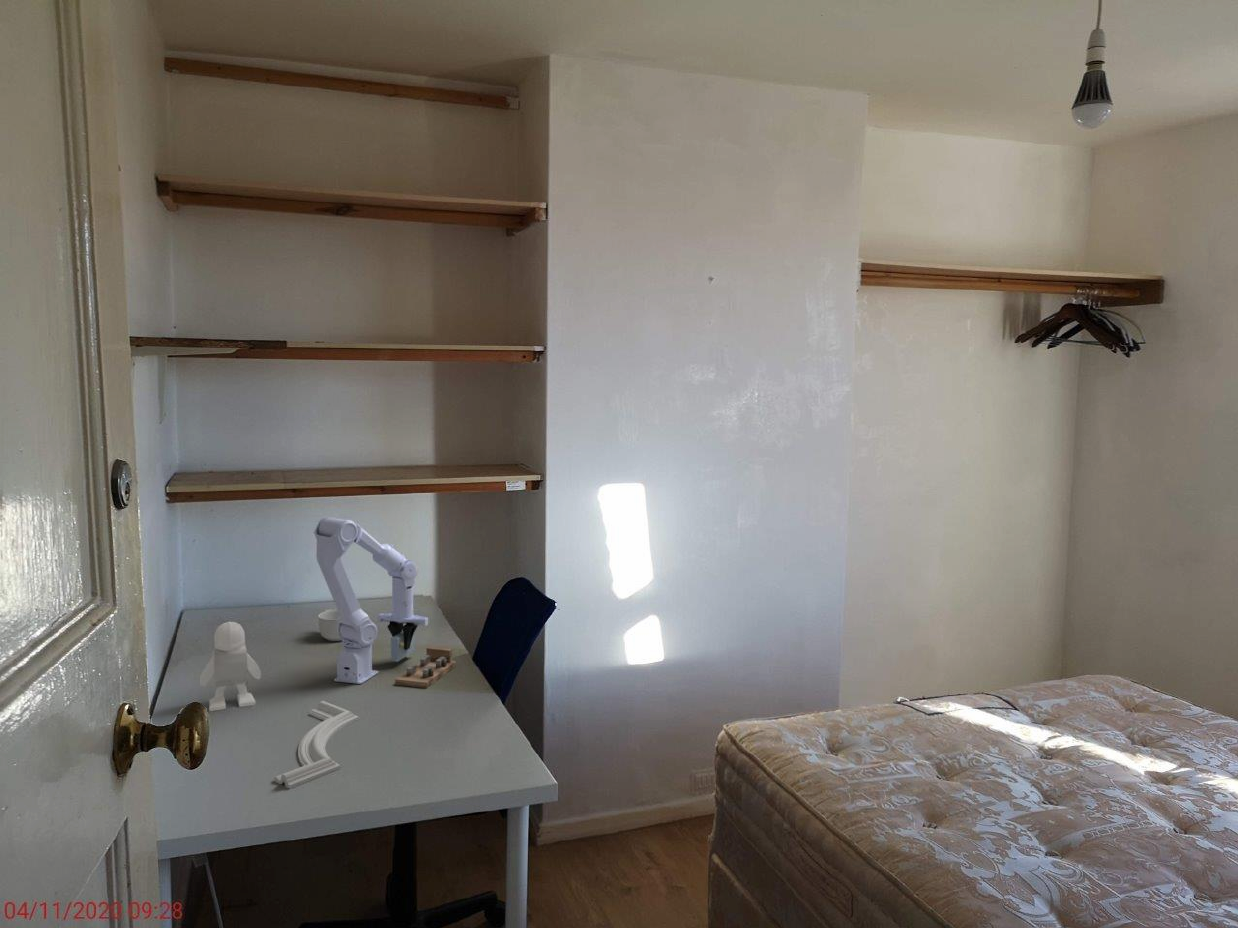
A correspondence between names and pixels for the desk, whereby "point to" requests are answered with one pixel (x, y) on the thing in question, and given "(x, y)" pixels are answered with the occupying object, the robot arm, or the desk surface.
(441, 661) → the knife switch board
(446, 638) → the desk surface
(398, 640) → the rectangular block
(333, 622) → the teacup
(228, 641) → the toy robot
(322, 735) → the molding
